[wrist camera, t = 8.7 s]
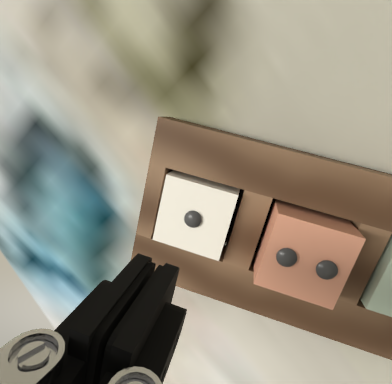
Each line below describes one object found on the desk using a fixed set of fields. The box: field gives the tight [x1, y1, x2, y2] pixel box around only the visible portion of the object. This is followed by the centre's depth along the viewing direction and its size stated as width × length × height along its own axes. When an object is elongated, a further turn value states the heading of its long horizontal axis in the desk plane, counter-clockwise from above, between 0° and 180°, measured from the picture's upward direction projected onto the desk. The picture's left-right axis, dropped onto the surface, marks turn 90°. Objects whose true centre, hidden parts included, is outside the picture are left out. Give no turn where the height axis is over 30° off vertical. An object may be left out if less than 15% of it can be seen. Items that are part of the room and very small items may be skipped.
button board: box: [131, 117, 392, 360], centre depth 20 cm, size 12×23×2 cm, turn 77°
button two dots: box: [254, 200, 366, 310], centre depth 18 cm, size 5×5×3 cm
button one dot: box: [152, 170, 240, 261], centre depth 20 cm, size 5×5×3 cm
